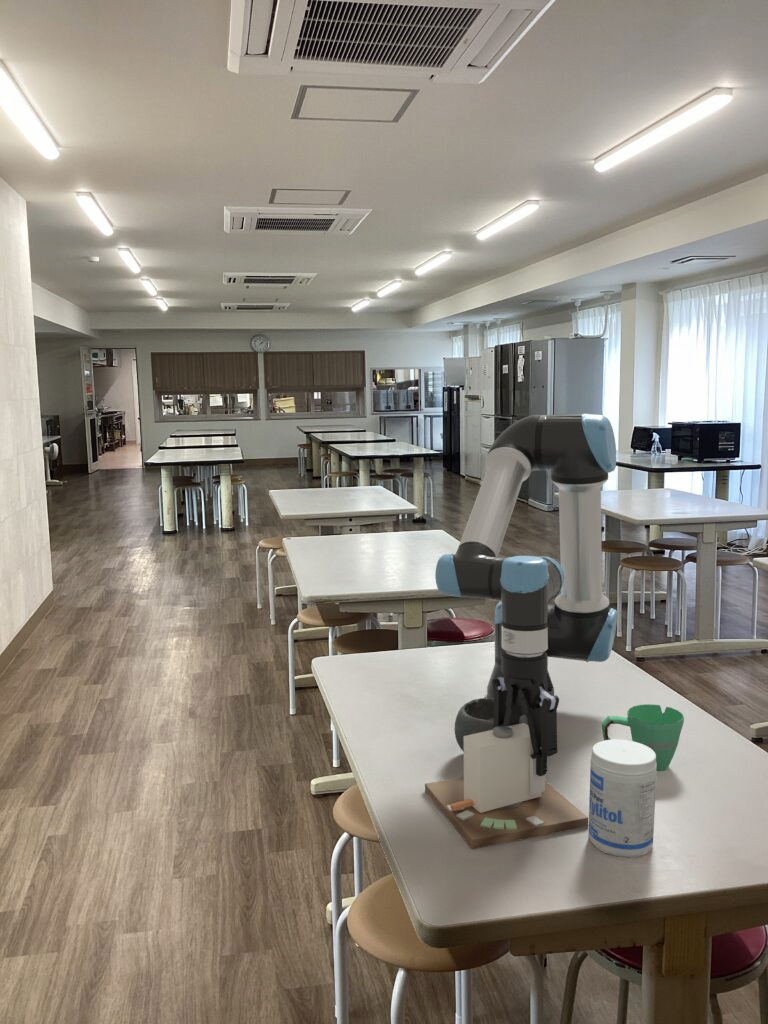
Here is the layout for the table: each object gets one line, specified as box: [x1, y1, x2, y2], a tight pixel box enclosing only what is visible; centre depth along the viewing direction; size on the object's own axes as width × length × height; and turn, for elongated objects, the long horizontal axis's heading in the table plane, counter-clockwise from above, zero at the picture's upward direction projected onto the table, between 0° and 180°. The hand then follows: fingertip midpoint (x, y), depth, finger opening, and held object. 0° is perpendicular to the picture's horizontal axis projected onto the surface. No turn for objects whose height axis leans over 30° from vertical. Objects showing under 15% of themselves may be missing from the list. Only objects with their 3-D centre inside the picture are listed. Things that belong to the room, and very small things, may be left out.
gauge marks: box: [447, 805, 544, 830], centre depth 132 cm, size 12×10×1 cm
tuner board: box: [424, 776, 589, 850], centre depth 138 cm, size 20×20×2 cm
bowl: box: [454, 697, 528, 753], centre depth 156 cm, size 15×15×10 cm
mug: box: [601, 703, 685, 773], centre depth 152 cm, size 15×10×10 cm
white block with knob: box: [450, 723, 542, 813], centre depth 136 cm, size 16×5×12 cm, turn 116°
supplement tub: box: [587, 738, 657, 858], centre depth 125 cm, size 10×10×15 cm
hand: (524, 785), depth 139 cm, fingers closed on white block with knob, 5 cm apart
